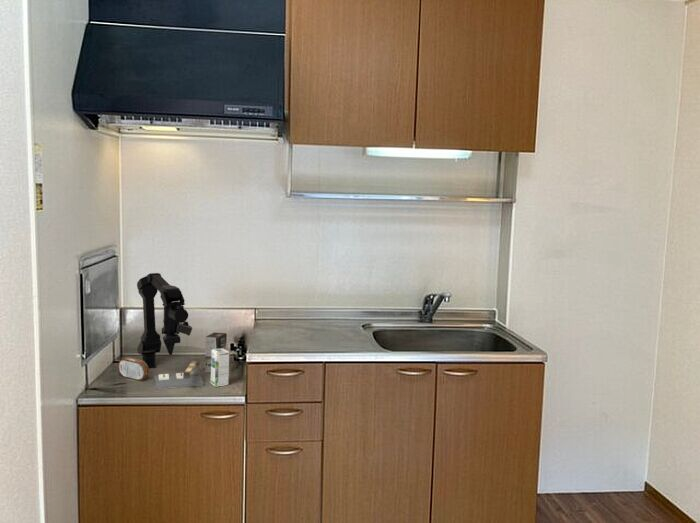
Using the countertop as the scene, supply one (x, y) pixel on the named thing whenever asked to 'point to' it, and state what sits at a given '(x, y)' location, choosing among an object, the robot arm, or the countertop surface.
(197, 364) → the bar
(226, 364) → the syrup box
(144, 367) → the tin
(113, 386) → the countertop surface
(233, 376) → the countertop surface
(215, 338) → the coffee box
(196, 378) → the label board
